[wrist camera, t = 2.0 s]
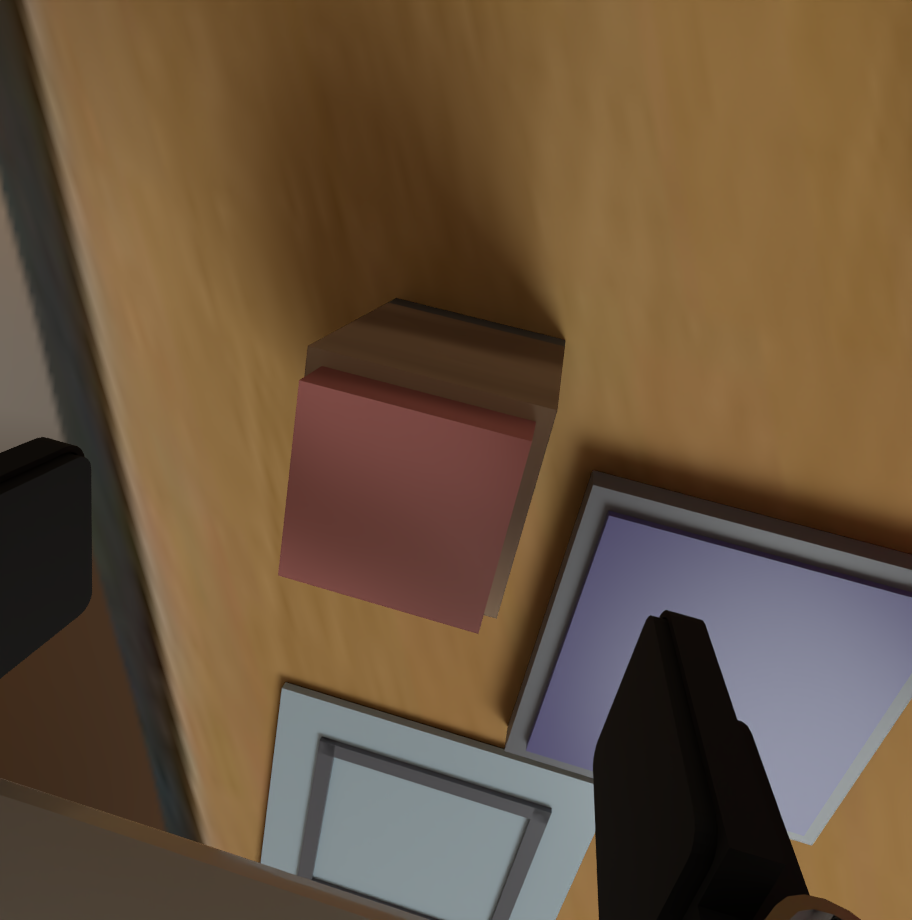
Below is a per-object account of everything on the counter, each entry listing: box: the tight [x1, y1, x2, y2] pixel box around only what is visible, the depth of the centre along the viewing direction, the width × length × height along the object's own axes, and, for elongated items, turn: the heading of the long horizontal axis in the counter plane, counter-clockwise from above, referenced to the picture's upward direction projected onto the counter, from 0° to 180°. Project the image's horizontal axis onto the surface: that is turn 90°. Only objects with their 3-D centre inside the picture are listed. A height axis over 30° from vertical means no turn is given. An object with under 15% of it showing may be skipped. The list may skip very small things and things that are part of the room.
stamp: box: [278, 298, 565, 634], centre depth 14 cm, size 5×5×7 cm
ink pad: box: [504, 470, 912, 845], centre depth 19 cm, size 10×10×1 cm
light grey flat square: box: [261, 682, 595, 920], centre depth 24 cm, size 12×12×1 cm
